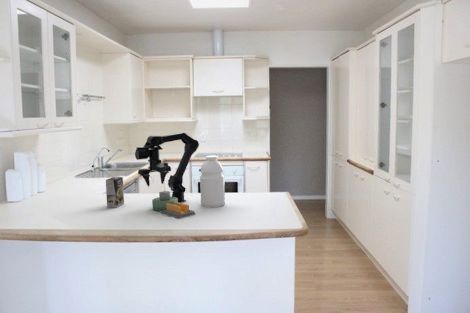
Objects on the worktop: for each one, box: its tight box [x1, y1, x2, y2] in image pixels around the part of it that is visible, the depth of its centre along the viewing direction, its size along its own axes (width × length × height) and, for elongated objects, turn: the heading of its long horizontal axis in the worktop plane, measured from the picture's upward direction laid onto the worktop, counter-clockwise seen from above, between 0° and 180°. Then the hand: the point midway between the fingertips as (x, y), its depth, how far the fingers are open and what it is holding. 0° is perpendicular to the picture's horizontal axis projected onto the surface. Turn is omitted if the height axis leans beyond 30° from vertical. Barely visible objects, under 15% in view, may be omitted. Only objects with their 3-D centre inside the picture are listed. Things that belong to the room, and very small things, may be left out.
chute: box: [166, 202, 190, 214], centre depth 204 cm, size 12×6×4 cm, turn 44°
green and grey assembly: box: [151, 190, 196, 220], centre depth 210 cm, size 14×30×9 cm, turn 44°
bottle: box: [199, 155, 226, 208], centre depth 220 cm, size 14×14×28 cm
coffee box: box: [105, 176, 125, 209], centre depth 223 cm, size 9×6×16 cm
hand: (155, 185), depth 221 cm, fingers open, 9 cm apart
